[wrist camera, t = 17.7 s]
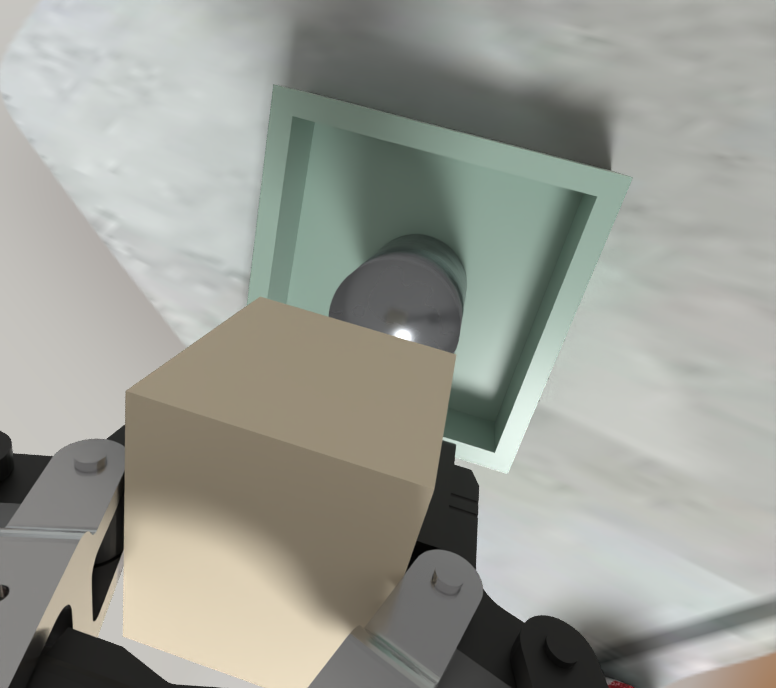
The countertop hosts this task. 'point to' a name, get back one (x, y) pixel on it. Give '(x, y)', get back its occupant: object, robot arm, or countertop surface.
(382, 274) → the tin
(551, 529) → the countertop surface
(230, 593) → the carton
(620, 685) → the soda can
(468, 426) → the tote
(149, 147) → the countertop surface
